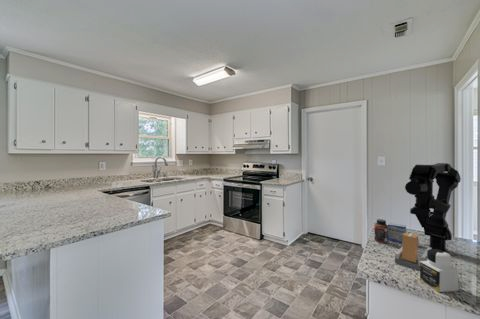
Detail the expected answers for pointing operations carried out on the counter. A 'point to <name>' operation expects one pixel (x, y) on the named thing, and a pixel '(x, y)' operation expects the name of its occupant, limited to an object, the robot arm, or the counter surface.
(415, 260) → the fader knob
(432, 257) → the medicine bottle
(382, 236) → the supplement bottle
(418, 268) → the fader console
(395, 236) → the medicine box
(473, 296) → the counter surface
